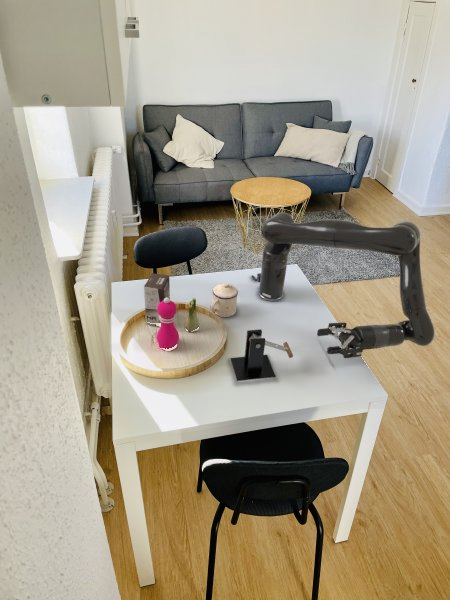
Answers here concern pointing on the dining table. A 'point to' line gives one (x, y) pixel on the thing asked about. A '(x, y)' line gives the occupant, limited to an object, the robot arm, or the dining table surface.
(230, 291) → the teacup with lid
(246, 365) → the bracket
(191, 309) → the fennel bulb
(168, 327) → the pepper mill
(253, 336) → the lever
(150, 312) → the coffee box
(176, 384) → the dining table surface
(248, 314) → the dining table surface
